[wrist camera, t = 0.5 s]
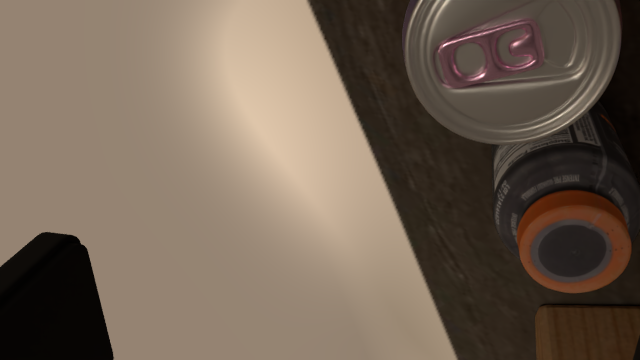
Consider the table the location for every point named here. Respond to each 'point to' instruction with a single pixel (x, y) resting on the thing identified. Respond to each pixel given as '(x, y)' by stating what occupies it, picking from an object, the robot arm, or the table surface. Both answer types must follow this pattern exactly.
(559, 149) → the pill bottle
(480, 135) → the beverage can
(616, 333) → the decorative item
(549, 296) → the table surface
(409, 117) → the table surface
